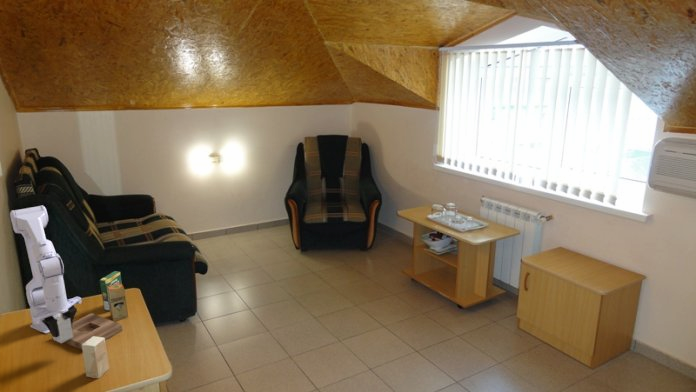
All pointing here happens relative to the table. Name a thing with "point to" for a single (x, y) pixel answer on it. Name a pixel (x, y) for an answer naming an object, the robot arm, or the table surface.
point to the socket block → (92, 329)
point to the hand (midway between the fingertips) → (62, 332)
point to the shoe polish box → (117, 301)
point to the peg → (63, 329)
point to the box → (95, 357)
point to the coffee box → (106, 281)
